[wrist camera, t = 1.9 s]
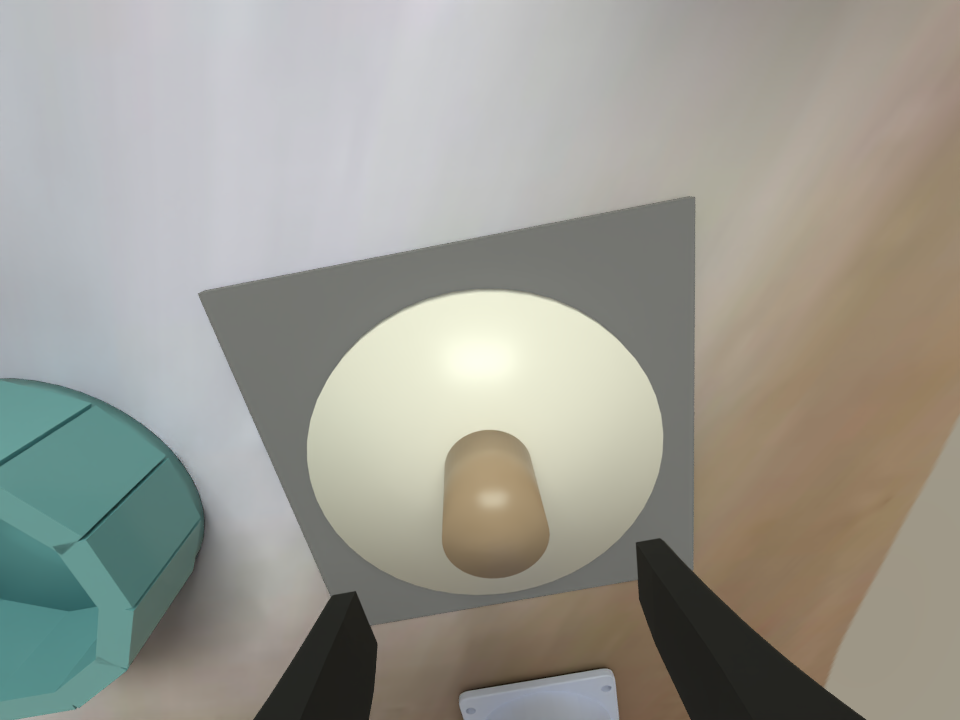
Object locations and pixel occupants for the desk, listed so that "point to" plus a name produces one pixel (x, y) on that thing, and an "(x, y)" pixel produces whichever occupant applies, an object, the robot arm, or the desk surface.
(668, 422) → the mat
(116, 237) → the desk surface
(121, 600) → the bowl
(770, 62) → the desk surface
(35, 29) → the desk surface
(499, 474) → the lid
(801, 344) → the desk surface
